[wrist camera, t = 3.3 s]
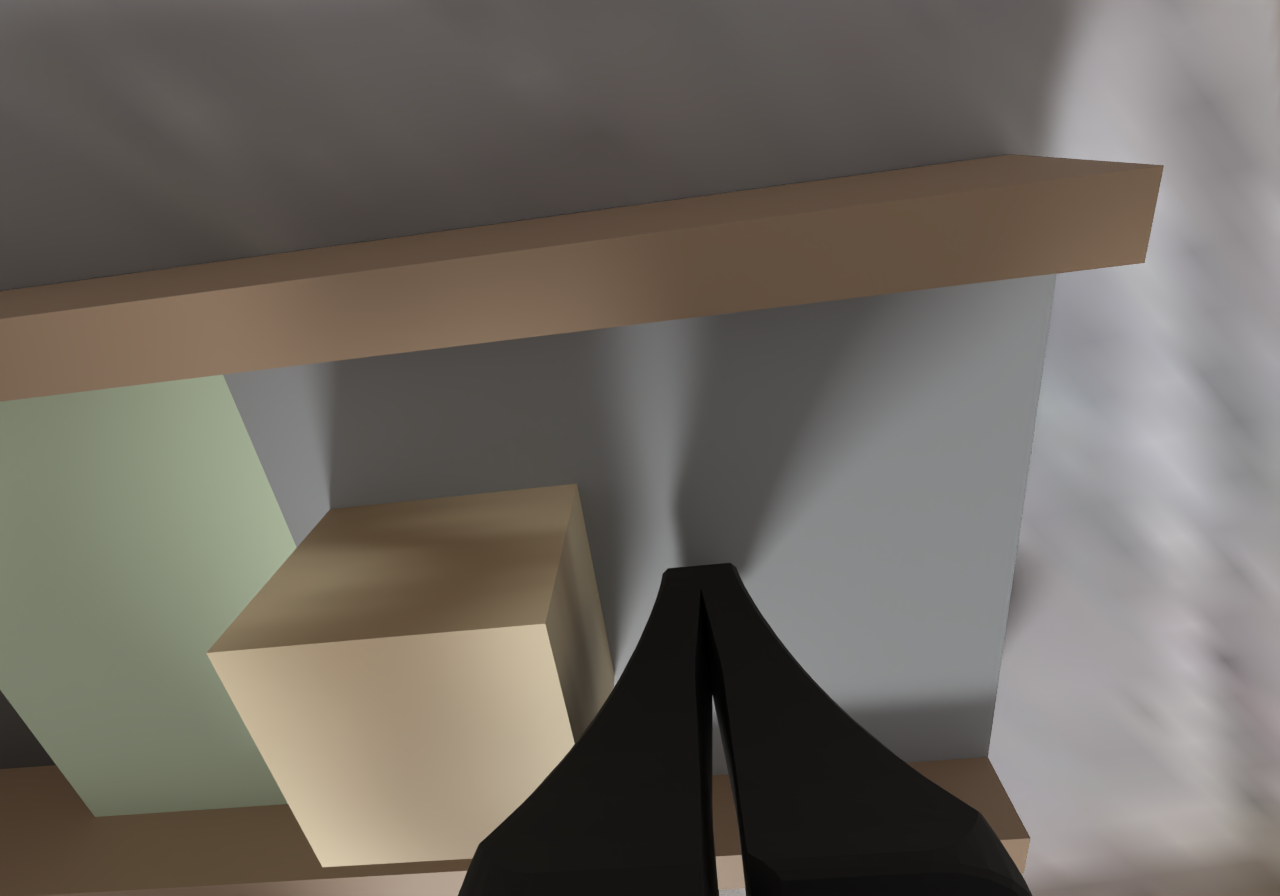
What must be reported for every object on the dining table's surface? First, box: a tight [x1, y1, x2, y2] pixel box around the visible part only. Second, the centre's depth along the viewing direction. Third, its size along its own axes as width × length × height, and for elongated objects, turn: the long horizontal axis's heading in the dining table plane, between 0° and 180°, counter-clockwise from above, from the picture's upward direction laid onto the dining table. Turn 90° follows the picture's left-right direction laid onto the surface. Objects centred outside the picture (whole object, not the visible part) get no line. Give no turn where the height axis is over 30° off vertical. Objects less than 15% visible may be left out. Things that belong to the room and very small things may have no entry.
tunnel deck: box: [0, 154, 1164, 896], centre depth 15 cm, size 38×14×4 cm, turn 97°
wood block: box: [206, 484, 615, 867], centre depth 12 cm, size 5×5×4 cm
